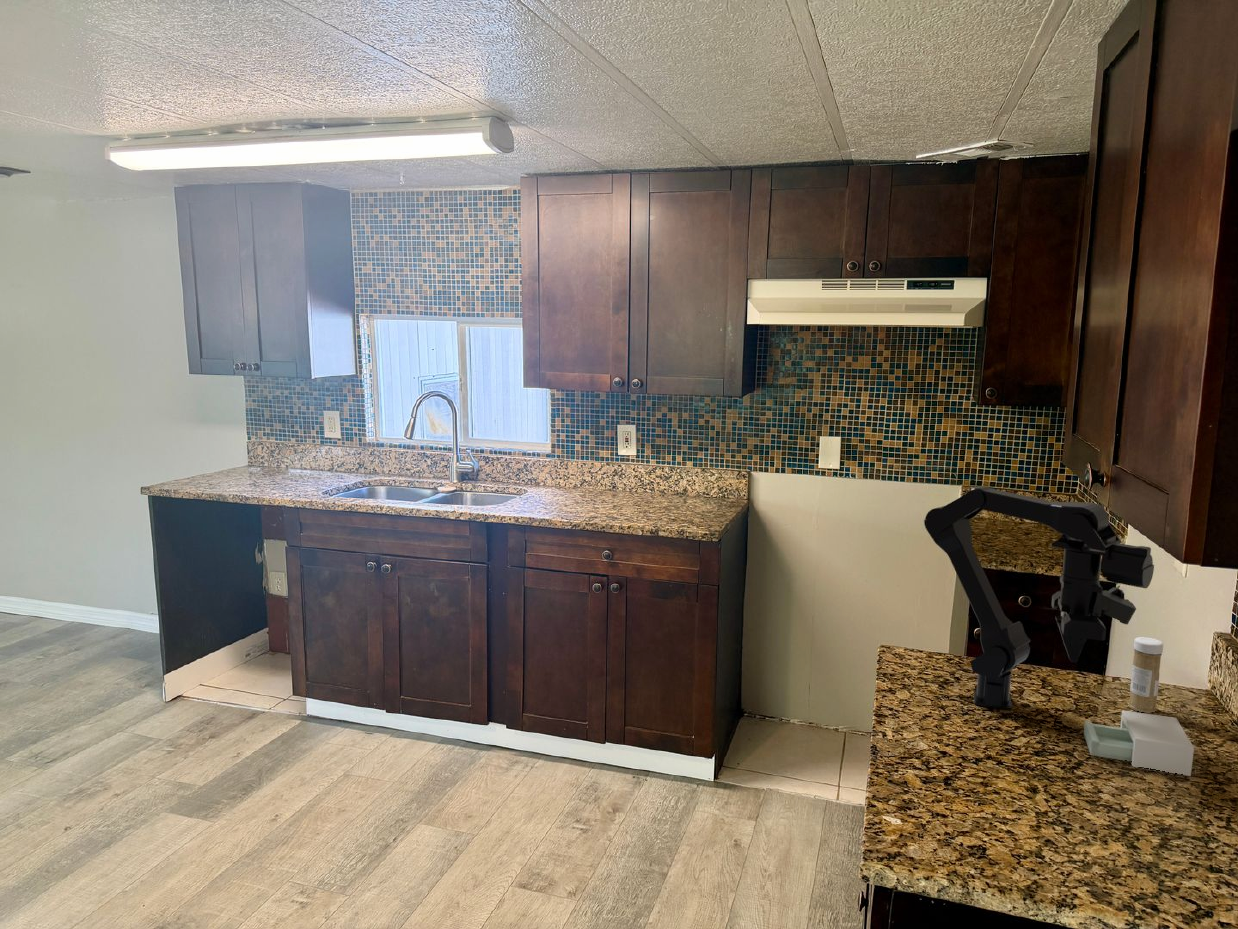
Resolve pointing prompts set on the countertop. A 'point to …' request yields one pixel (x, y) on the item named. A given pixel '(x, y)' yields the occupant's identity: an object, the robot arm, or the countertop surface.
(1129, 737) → the tray shell
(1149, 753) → the low shelf
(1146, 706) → the sprinkles bottle
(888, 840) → the countertop surface
